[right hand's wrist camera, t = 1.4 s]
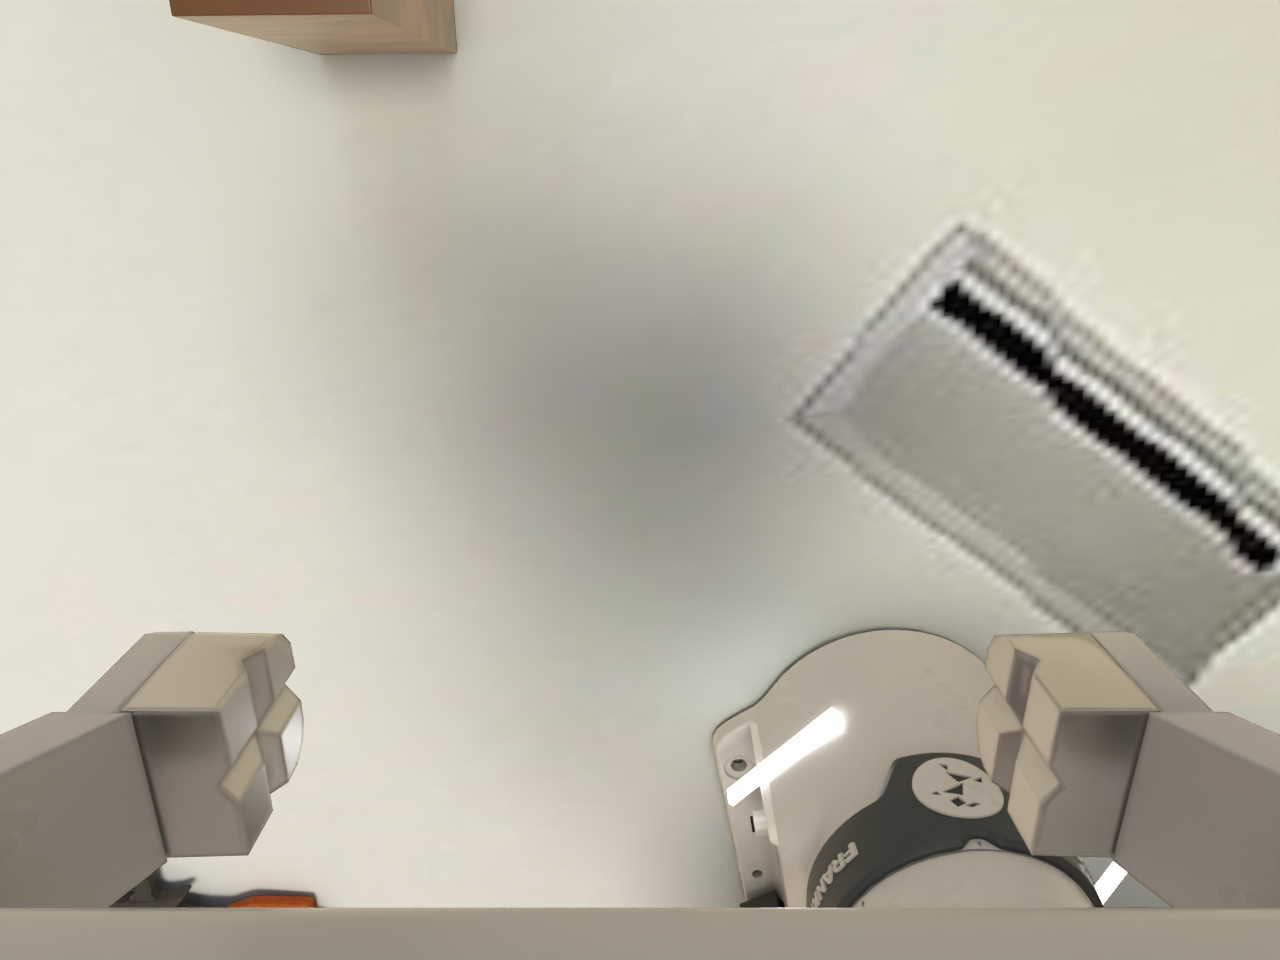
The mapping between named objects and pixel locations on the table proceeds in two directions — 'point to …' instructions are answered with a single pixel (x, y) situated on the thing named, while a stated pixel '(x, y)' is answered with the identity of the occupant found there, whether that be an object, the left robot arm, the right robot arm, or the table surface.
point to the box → (333, 23)
